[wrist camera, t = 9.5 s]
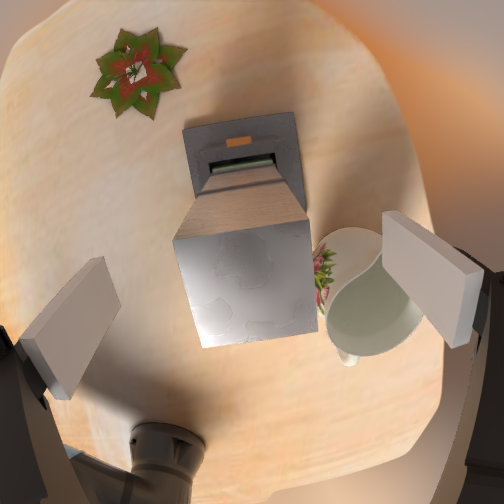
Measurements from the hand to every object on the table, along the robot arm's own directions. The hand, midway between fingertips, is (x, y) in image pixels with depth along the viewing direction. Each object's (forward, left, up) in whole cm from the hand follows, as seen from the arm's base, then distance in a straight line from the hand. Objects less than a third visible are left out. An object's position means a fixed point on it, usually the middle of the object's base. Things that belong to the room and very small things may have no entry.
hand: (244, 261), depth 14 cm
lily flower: (-10, +14, -24) cm, 30 cm away
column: (0, 0, -15) cm, 15 cm away
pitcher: (+10, -13, -23) cm, 28 cm away
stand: (0, 0, -23) cm, 23 cm away
